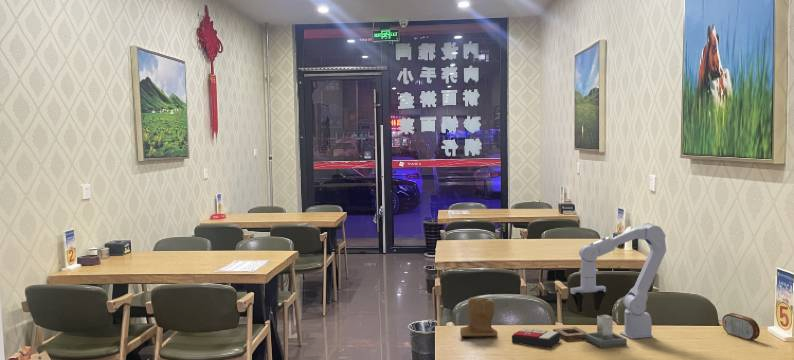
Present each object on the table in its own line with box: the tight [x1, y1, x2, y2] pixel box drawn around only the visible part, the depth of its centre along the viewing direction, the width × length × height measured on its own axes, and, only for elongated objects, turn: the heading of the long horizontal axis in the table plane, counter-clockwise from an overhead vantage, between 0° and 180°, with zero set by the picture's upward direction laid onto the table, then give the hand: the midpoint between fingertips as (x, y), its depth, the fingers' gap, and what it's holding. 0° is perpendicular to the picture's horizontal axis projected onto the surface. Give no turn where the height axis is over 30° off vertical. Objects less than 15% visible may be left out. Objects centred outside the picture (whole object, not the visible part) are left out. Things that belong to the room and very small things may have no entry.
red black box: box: [511, 327, 561, 349], centre depth 239 cm, size 11×4×15 cm
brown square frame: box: [552, 326, 588, 342], centre depth 245 cm, size 10×10×2 cm
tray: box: [583, 331, 628, 349], centre depth 236 cm, size 11×11×2 cm
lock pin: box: [596, 314, 614, 340], centre depth 236 cm, size 4×4×9 cm
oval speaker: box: [721, 312, 761, 341], centre depth 241 cm, size 15×3×8 cm, turn 20°
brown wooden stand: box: [459, 297, 499, 338], centre depth 248 cm, size 15×12×15 cm
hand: (588, 310), depth 246 cm, fingers open, 7 cm apart
